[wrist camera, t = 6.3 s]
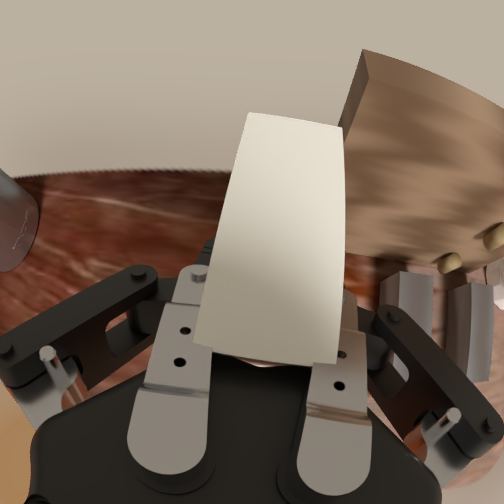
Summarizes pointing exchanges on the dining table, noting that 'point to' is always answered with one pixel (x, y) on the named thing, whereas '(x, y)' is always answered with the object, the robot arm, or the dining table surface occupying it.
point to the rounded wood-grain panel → (426, 195)
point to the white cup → (496, 281)
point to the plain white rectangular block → (279, 247)
